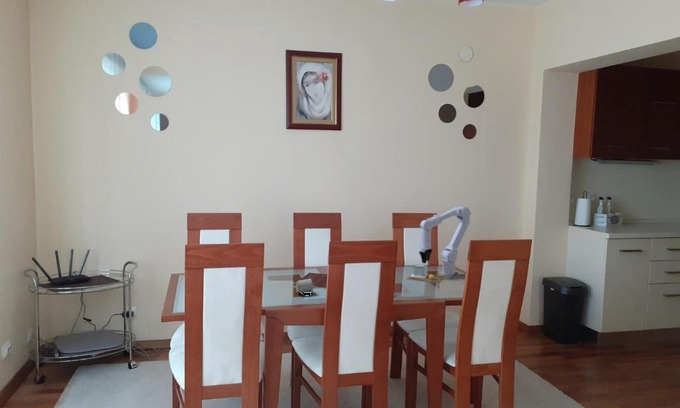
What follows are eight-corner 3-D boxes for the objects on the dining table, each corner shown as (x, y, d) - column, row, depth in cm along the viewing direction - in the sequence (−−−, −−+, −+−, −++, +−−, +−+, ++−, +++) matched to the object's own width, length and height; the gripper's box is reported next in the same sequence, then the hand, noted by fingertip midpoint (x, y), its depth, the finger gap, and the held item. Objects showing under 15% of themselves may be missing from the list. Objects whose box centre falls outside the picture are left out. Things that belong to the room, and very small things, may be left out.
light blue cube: (416, 273, 292) (416, 264, 291) (425, 274, 290) (425, 265, 289) (413, 275, 287) (413, 266, 286) (422, 276, 284) (423, 266, 284)
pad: (414, 273, 294) (414, 273, 294) (428, 275, 290) (428, 274, 290) (410, 276, 286) (410, 276, 286) (424, 278, 282) (424, 277, 282)
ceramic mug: (295, 292, 254) (295, 278, 253) (309, 291, 257) (309, 277, 256) (300, 298, 244) (300, 283, 244) (315, 296, 247) (315, 282, 246)
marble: (429, 278, 281) (429, 273, 281) (434, 279, 280) (434, 274, 279) (428, 279, 278) (428, 274, 278) (433, 280, 277) (433, 275, 277)
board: (414, 274, 296) (414, 273, 296) (446, 277, 287) (446, 276, 287) (405, 281, 279) (405, 279, 279) (439, 284, 271) (439, 282, 271)
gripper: (422, 237, 296) (422, 259, 297) (416, 241, 283) (416, 263, 284) (433, 238, 293) (433, 260, 294) (428, 242, 280) (427, 264, 281)
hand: (425, 261), depth 289 cm, fingers open, 7 cm apart
